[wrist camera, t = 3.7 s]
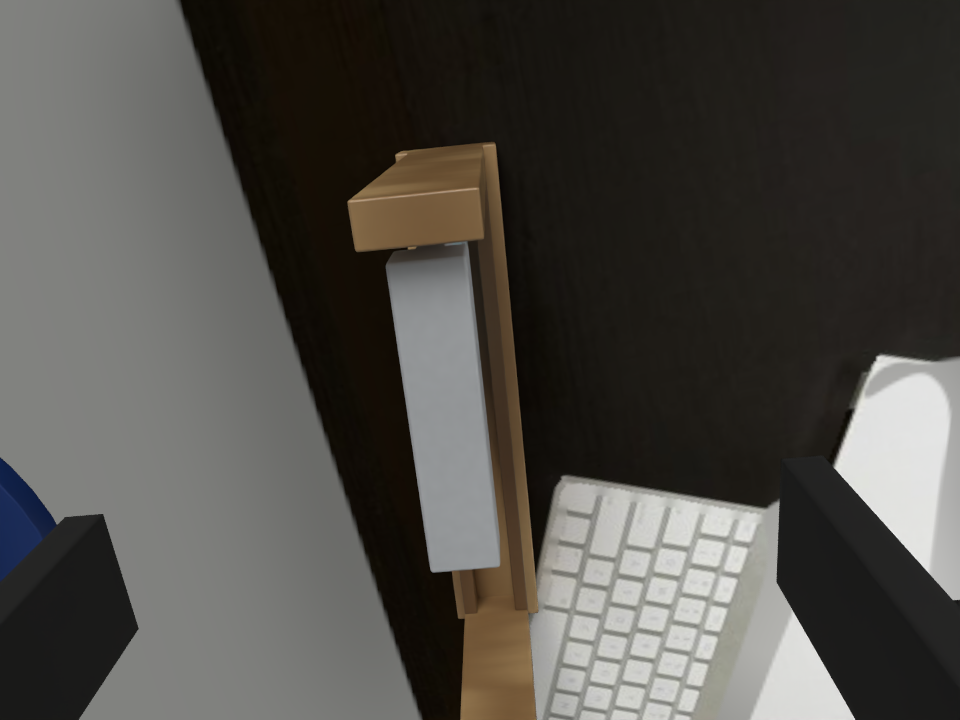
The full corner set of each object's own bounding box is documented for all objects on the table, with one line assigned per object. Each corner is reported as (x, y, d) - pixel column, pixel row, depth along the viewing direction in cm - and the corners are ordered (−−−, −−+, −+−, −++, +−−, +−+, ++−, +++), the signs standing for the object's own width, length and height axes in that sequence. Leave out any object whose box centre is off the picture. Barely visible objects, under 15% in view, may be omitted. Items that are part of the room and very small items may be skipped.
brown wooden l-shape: (459, 600, 38) (442, 895, 24) (399, 151, 31) (324, 202, 17) (536, 594, 38) (565, 887, 24) (495, 141, 31) (501, 184, 17)
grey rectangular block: (450, 401, 33) (430, 574, 21) (425, 195, 30) (384, 263, 18) (496, 397, 33) (500, 568, 21) (474, 190, 30) (466, 255, 18)
